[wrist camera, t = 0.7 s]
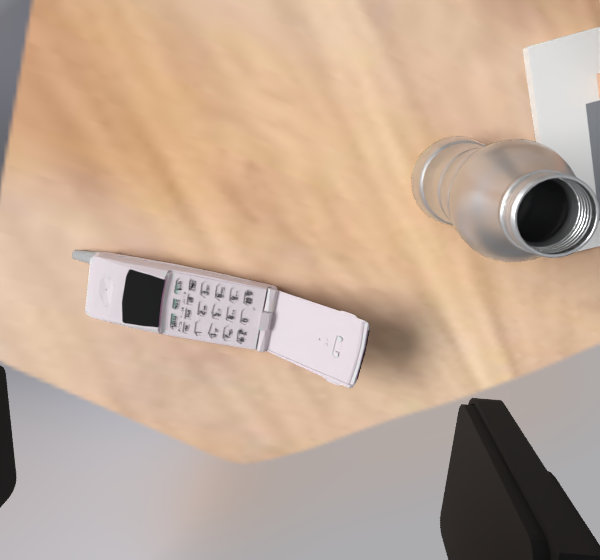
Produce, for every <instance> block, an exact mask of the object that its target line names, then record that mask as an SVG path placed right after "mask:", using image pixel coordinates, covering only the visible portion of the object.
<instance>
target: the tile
mask: <svg viewBox="0 0 600 560" xmlns="http://www.w3.org/2000/svg"><path fill="white" fill-rule="evenodd" d="M597 83H598V92H599V99H600V73H597Z"/></svg>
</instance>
